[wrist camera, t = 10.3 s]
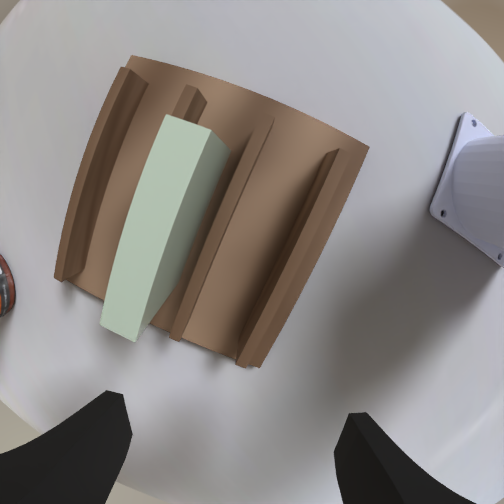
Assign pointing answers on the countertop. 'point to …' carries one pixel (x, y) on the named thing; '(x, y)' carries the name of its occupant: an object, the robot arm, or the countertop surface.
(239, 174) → the dish rack
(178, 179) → the pale green flat block
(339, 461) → the robot arm
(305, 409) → the countertop surface
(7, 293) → the supplement bottle
